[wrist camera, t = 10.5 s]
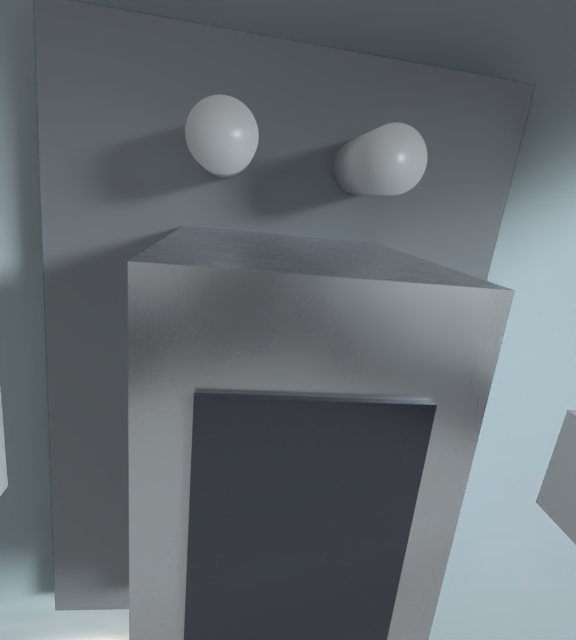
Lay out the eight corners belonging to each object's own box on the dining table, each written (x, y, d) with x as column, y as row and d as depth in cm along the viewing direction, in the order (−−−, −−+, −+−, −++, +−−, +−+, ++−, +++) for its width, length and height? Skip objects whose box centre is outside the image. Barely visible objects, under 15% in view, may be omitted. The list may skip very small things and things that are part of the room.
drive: (183, 225, 13) (125, 262, 6) (376, 243, 14) (520, 292, 7) (174, 507, 15) (128, 755, 9) (336, 506, 16) (410, 731, 9)
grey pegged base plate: (52, 12, 12) (-41, -81, 8) (510, 93, 14) (622, 53, 10) (67, 582, 17) (16, 700, 13) (395, 578, 19) (438, 679, 15)
